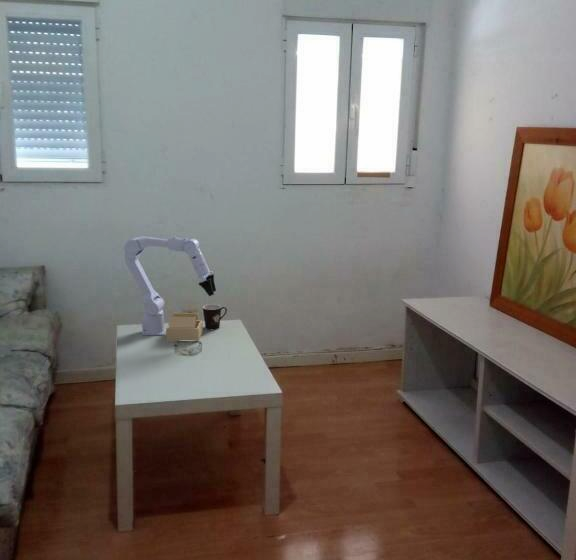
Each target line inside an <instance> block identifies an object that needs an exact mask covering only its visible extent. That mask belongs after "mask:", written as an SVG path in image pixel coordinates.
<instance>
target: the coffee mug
mask: <svg viewBox="0 0 576 560" xmlns="http://www.w3.org/2000/svg"><path fill="white" fill-rule="evenodd" d="M223 309H224V310H225V311H224V313H223V315H221V313H222V310H223ZM202 311H203V320H204V325H205V329H206V328H207V329H206V330H208V329H213V330H212V331H214V329H216V330H219V329H220V326H221V320H222V319H223V318H224V317H225V315H226V314H227V312H228V309H227V307H224V306H221V305H220V304H217V303H213V304H210V303H209V304H205V305H203V306H202ZM218 328H219V329H218Z"/></svg>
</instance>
